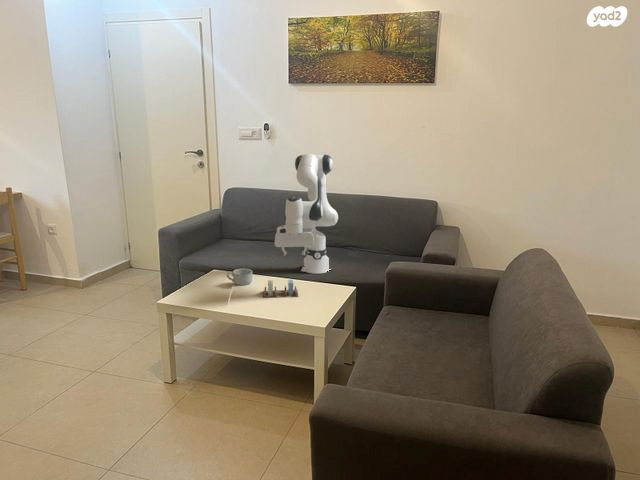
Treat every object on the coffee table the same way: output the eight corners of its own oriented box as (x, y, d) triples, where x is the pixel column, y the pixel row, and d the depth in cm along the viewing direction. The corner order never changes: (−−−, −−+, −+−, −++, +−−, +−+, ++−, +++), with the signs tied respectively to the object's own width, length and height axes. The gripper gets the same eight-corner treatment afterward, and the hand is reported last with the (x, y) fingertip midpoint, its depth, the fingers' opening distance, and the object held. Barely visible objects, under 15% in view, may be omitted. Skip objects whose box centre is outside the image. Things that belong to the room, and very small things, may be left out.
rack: (263, 292, 246) (263, 286, 245) (297, 291, 248) (297, 285, 247) (262, 299, 234) (262, 293, 234) (298, 299, 236) (298, 292, 235)
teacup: (254, 282, 264) (254, 268, 262) (250, 288, 253) (249, 274, 252) (230, 281, 265) (230, 268, 264) (225, 287, 255) (224, 273, 253)
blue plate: (288, 292, 244) (288, 280, 243) (292, 291, 244) (292, 279, 243) (288, 295, 239) (288, 283, 237) (293, 295, 239) (293, 283, 238)
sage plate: (268, 292, 243) (268, 280, 242) (272, 292, 243) (272, 280, 242) (268, 295, 238) (267, 283, 236) (272, 295, 238) (272, 283, 236)
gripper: (314, 227, 241) (314, 252, 244) (274, 227, 239) (274, 253, 243) (315, 229, 235) (315, 256, 238) (274, 230, 233) (274, 256, 236)
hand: (294, 254), depth 240 cm, fingers open, 8 cm apart
